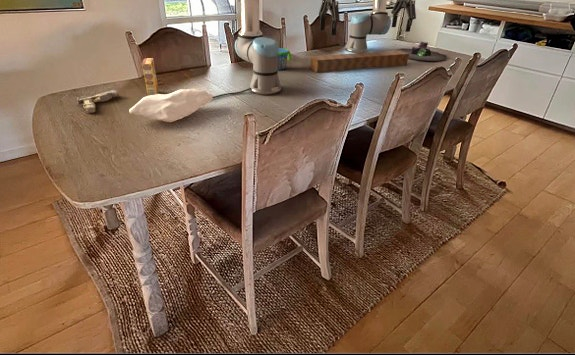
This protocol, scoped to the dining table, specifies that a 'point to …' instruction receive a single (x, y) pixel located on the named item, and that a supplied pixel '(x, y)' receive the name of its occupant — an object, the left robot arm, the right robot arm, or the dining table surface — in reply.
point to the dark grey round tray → (423, 53)
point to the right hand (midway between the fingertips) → (400, 29)
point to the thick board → (358, 61)
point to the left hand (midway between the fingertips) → (327, 32)
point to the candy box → (150, 76)
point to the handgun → (95, 100)
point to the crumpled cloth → (171, 104)
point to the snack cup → (283, 58)
